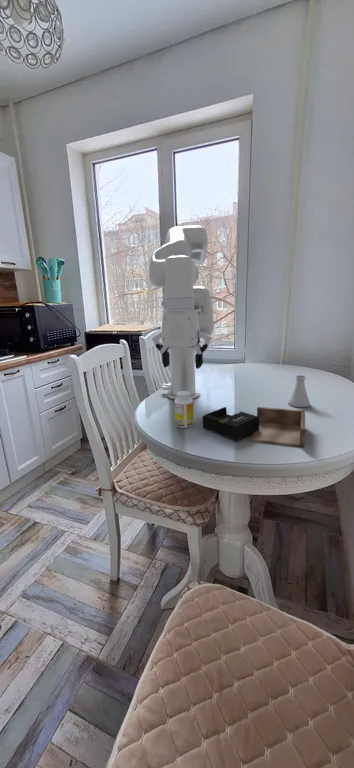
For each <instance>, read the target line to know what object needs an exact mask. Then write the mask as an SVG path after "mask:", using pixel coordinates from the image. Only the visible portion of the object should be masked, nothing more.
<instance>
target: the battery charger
mask: <svg viewBox="0 0 354 768" xmlns="http://www.w3.org/2000/svg"><path fill="white" fill-rule="evenodd" d="M202 428H203V429H204V430H207V431H210V432H213V433H215V434H218V435H221V436H222V437H225V438H228V439H231V440H234V441H235V442H237V441H239V440H241V439H243V438H245V437H247V436H249V435H251V434H253V432H255V431H257V430H259V417H258V416H257V415H254V414H252V413H248V412H247V413H246V412H244V411H239V412H237V413H234V414H231V415H230V414H228V411H227V407H226V406H223V407H222V408H220V409H216V410H213V411H211V412H209V413H206V414H203V415H202Z"/></svg>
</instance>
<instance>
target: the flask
mask: <svg viewBox="0 0 354 768" xmlns="http://www.w3.org/2000/svg"><path fill="white" fill-rule="evenodd" d="M306 378H307V376H306V375H303V374H301V375H300V374H298V375H297V374H296V375H295V379H296V382H295V385H294V388H293V390H292V393H291V395H290V398H289V400H288V405H289V406H291V407H295V408H306V407H308V408H309V407H310V405H311V404H310V399H309V396H308V393H307V389H306V383H305V379H306Z"/></svg>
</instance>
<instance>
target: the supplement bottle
mask: <svg viewBox="0 0 354 768" xmlns="http://www.w3.org/2000/svg"><path fill="white" fill-rule="evenodd" d="M173 400H174V402H173V403H174V419H175V420H174V421H175V425H176V427H178V428H182V429H189V428H191V427H193V425H194V423H195V419H194V416H195V415H194V399H192V398H190V392H188V391H179V392H177V398H176V399H173Z"/></svg>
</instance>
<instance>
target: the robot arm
mask: <svg viewBox="0 0 354 768" xmlns="http://www.w3.org/2000/svg"><path fill="white" fill-rule="evenodd" d="M164 239H165V240H164V244H162V245H161V247H160V248H157V249H156V250H154V251H153V253H152V254H151V256H150V259H149V264H148V265H149V266H148V278H149V282H150V283H151V285H152V286H153V287H155V288H160V289H161V288H165V289H164V290H165V299H164V301H161V307H162V308H163V307H164V308H165V309H166V310H164V311H163V313H162V318H161V319H162V320H161V332H160V333H158V334H157V335H154V336H152V341H153V344H154V345H155V348H156V349H157V350H158V351H159V352H160V354H161V363H162V365H163V368H167V367H169V373H170V374H169V375H170V376H169V377H170V383H162V384H161V388H162V389H161V390H164V391H165V390H166V391H167V393H166V395H167V398H169V399H172V400H175V399H176V398H177V392H179V391H188V392H190V398H192V399H193V400H194V399H196V398H198V397H199V396H200V393H201V392H200V390H198V389H196V369H197V370H198V369H201V367H202V365H203V364H204V359H203V358H204V355H203V354H204V353H205V351H206V350H207V349H208V348H209V347H210V344H211V342H212V340H213V337H211V336H212V335H213V333H214V314H213V313H214V312H213V303H212V296H211V292H210V290H209V289H208V288H207V287H206V286H202V285H201V286H194V285H195V284H196V283H197V281H198V280H199V277H200V272H199V266H198V265H201V264H203V263H204V262H205V260H206V258H207V251H208V245H209V237H208V233H207V231H206V229H205V228H204V227H203V226H201V225H187V226H186V225H184V226H174V227H172V228H170V229H169V230H168V231H167V233H166V234H165V238H164ZM201 339H203V341H204V344H203V345H201V344H200V343H201ZM160 340H161V342H160ZM195 352H196V353H195Z"/></svg>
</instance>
